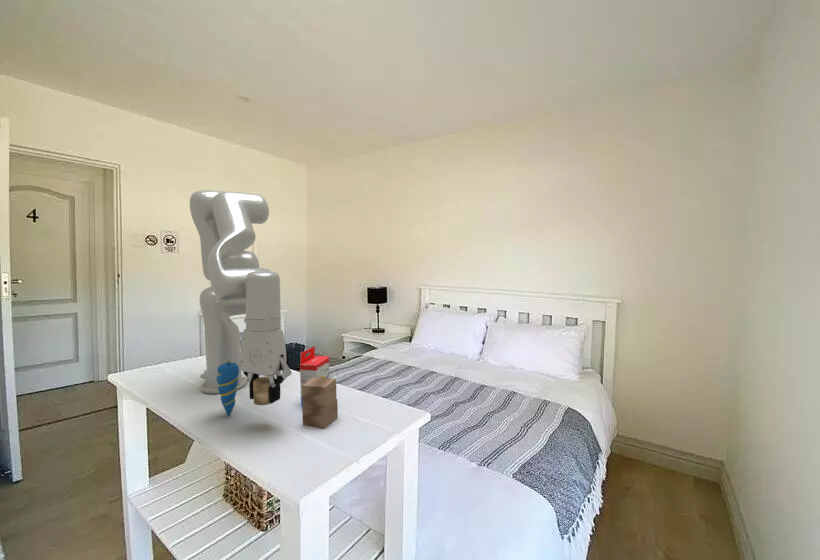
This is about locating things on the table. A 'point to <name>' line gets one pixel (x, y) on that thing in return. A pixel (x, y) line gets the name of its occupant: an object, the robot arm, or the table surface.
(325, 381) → the top block
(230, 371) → the ornament
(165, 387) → the table surface
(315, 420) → the bottom block
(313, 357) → the ink box
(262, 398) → the beige knob
